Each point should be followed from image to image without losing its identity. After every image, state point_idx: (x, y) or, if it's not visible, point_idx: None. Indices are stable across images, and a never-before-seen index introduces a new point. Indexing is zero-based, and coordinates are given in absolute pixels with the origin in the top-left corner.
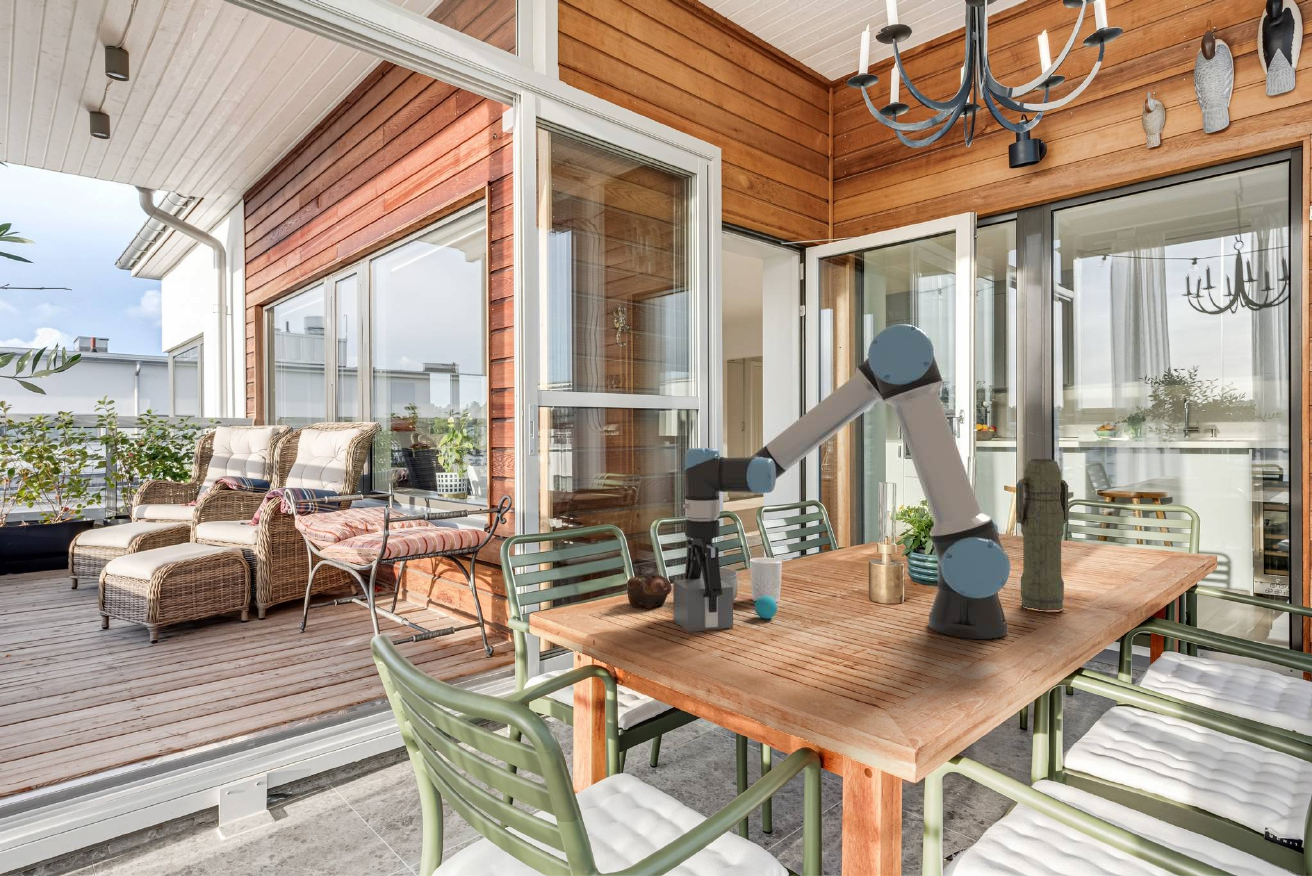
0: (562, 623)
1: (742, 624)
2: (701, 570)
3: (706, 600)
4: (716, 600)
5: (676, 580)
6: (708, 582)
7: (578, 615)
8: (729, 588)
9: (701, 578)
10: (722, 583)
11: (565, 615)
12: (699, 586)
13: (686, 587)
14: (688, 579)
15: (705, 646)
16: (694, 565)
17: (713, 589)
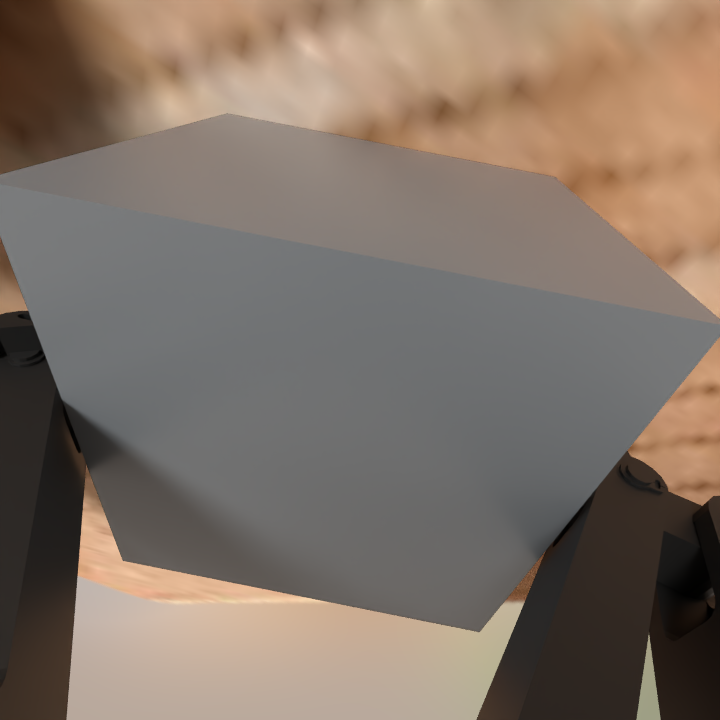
0: (195, 595)
1: (521, 37)
2: (37, 497)
3: None
4: (625, 452)
5: (135, 553)
6: (666, 677)
7: (115, 553)
8: (680, 361)
9: (59, 383)
10: (424, 327)
11: (112, 569)
12: (419, 548)
13: (397, 605)
14: (104, 487)
15: (684, 453)
16: (59, 659)
17: (572, 505)
